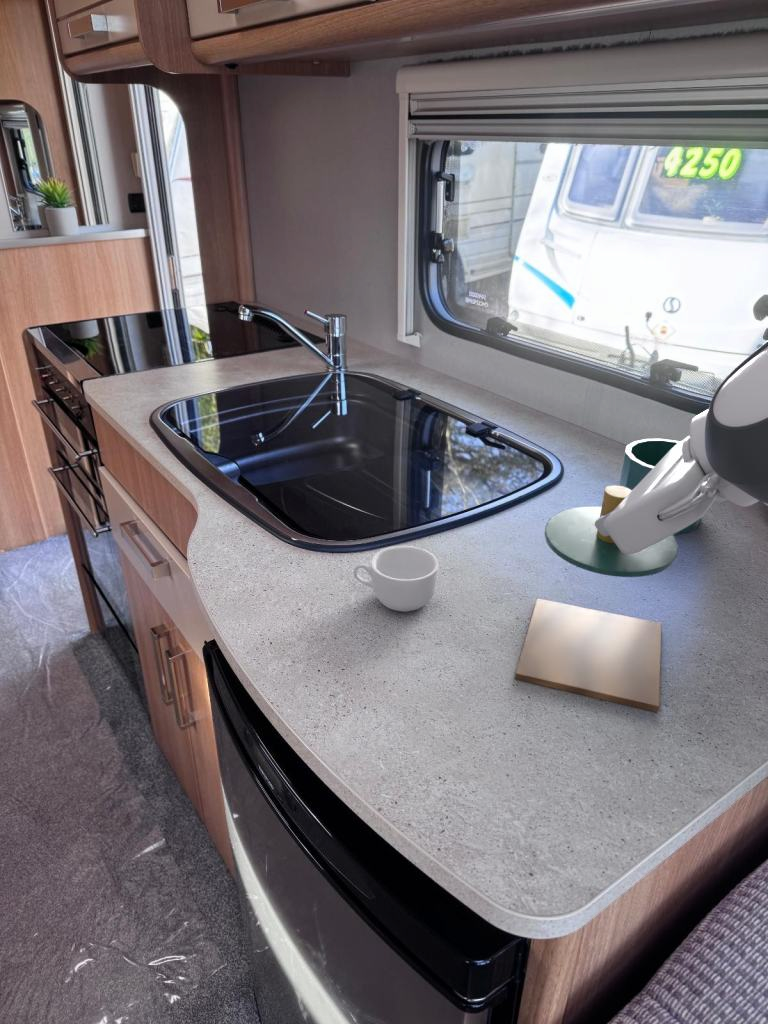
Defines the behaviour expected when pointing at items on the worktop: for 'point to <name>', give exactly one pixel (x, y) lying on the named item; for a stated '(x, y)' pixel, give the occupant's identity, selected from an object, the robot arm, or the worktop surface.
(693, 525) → the tea tin
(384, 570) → the teacup
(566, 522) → the tin lid
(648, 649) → the plate
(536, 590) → the worktop surface
